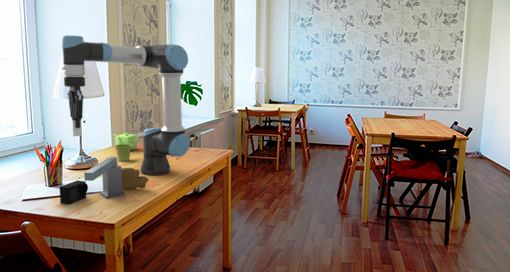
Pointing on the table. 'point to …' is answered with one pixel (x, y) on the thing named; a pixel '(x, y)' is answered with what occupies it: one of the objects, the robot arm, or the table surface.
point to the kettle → (127, 139)
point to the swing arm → (100, 168)
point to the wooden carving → (132, 179)
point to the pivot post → (112, 183)
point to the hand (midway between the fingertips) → (77, 135)
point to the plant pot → (123, 151)
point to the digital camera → (73, 192)
